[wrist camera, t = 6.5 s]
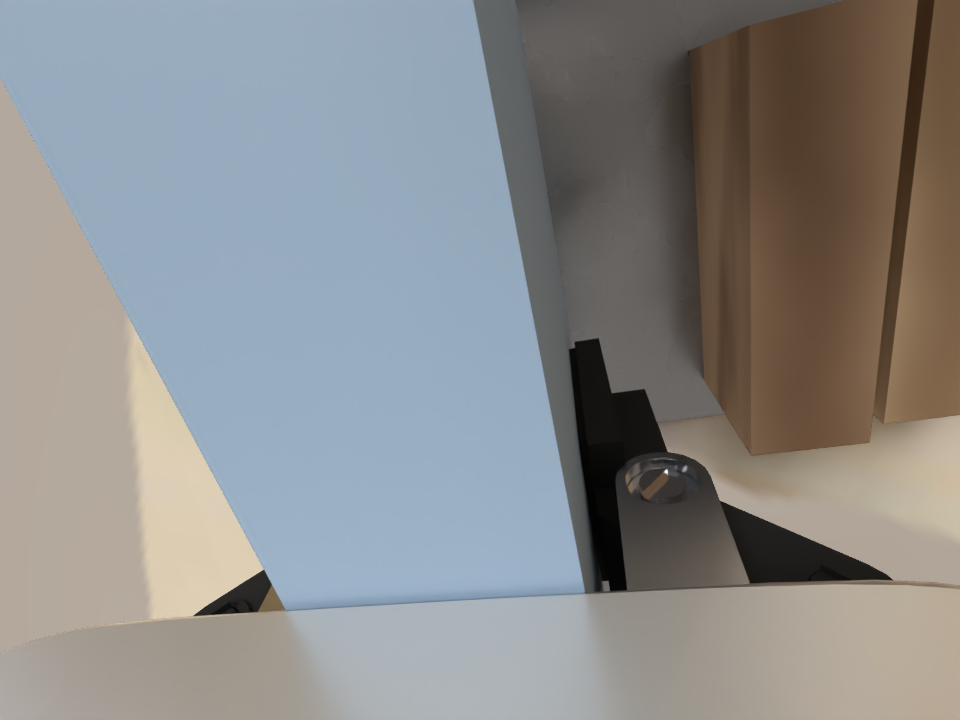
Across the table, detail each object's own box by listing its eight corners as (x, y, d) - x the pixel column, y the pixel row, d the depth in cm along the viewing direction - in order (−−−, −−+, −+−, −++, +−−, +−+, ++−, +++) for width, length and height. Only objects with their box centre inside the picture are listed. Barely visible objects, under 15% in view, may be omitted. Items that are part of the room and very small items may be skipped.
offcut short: (967, -20, 17) (1118, -67, 13) (915, 351, 23) (1007, 409, 18) (837, 13, 18) (937, -21, 14) (818, 365, 24) (883, 423, 19)
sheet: (519, 16, 12) (378, -516, 2) (603, 544, 18) (674, 1064, 8) (414, 46, 12) (-171, -237, 2) (533, 549, 19) (520, 1047, 9)
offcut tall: (806, 20, 18) (920, -19, 13) (794, 368, 24) (869, 442, 18) (689, 50, 19) (749, 25, 14) (704, 381, 25) (751, 455, 19)
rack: (1084, -243, 16) (1673, -630, 8) (968, 371, 24) (1185, 500, 16) (329, -10, 20) (190, -93, 12) (456, 438, 29) (424, 565, 21)
